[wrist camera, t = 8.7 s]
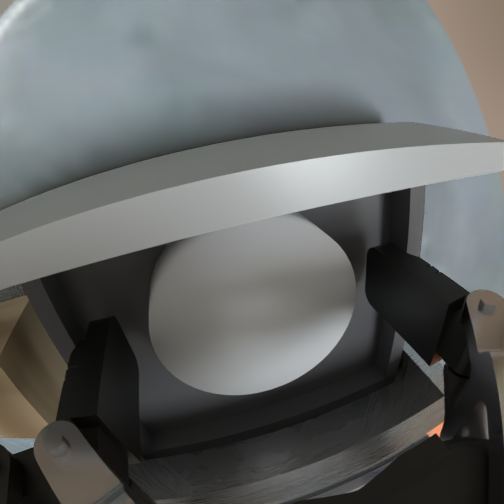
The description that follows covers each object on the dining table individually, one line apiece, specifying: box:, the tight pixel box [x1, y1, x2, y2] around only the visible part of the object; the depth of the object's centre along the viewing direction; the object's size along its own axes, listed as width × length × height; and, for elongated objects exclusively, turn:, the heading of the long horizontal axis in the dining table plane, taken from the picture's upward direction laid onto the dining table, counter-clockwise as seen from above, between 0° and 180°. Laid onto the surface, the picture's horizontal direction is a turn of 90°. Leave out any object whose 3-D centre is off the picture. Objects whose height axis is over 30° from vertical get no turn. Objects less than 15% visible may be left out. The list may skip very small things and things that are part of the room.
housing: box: [128, 341, 444, 504], centre depth 13 cm, size 15×12×7 cm
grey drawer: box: [0, 122, 504, 460], centre depth 9 cm, size 15×12×4 cm
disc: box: [149, 212, 356, 395], centre depth 9 cm, size 6×6×2 cm
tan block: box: [0, 295, 68, 438], centre depth 8 cm, size 4×4×4 cm
